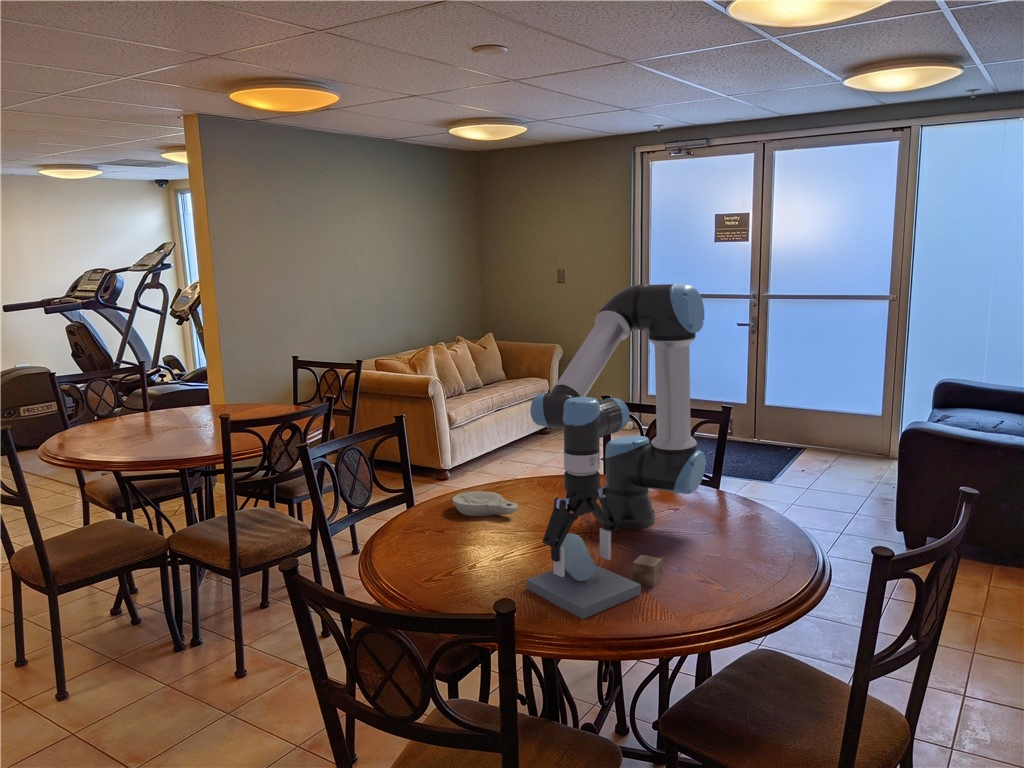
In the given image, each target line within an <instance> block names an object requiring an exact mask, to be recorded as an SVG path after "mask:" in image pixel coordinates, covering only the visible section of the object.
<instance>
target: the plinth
mask: <svg viewBox="0 0 1024 768" xmlns="http://www.w3.org/2000/svg"><path fill="white" fill-rule="evenodd" d="M525 584H526V590H528V591H529V590H530V591H529V592H531V591H532V592H531V593H533V592H534V593H533V594H535V593H536V594H535V595H537V594H538V595H537V596H539V597H541V598H542V597H543V598H542V599H544V598H545V599H544V600H546V599H547V600H546V601H548V600H549V601H548V602H550V603H551V604H554V605H555V606H557V607H560V608H561V609H563V610H564V611H567V612H568V613H571V614H572V615H574V616H576V617H578V618H580V619H581V620H584V619H587V618H588V617H591V616H593V615H596V614H598V613H601V612H603V611H605V610H608V609H611V608H612V607H615V606H617V605H619V604H622V603H624V602H627V601H629V600H631V599H634V598H636V597H638V596H641V595H642V584H639V583H636V582H634V581H633V579H632V580H631V579H629V578H628V577H625V576H622V575H620V574H618V573H615V572H613V571H611V570H609V569H606V568H604V567H601V566H599V565H598V564H595V571H594V573H593V575H592V576H591V577H590V578H589V579H588V580H585V581H578V580H576V579H574V578H573V577H572V576H571V575H570V574H569V573H568V572H567V571H566V570H565V576H564V577H561V576H559V575H556V574H554V573H553V569H552V570H550V571H547V572H544V573H541V574H538V575H535V576H533V577H530V578H527V579H526V583H525Z"/></svg>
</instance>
